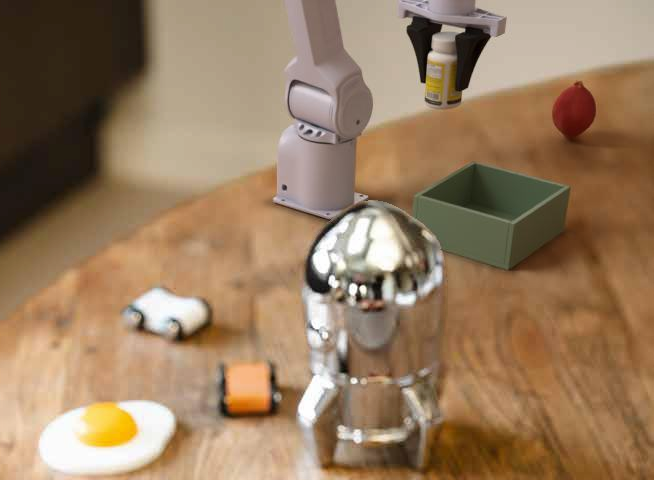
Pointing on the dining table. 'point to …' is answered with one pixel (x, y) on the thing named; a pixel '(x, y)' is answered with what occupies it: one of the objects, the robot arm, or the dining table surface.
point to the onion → (574, 110)
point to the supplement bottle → (442, 73)
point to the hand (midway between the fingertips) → (444, 85)
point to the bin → (492, 213)
